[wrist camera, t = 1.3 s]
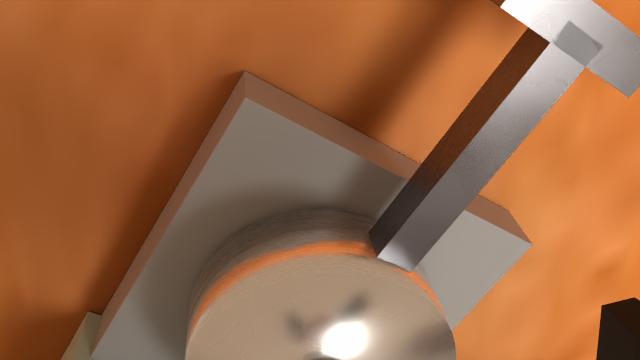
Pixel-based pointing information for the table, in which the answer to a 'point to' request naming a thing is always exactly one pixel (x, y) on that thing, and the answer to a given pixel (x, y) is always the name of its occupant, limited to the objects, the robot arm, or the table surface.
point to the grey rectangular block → (273, 199)
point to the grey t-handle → (396, 218)
